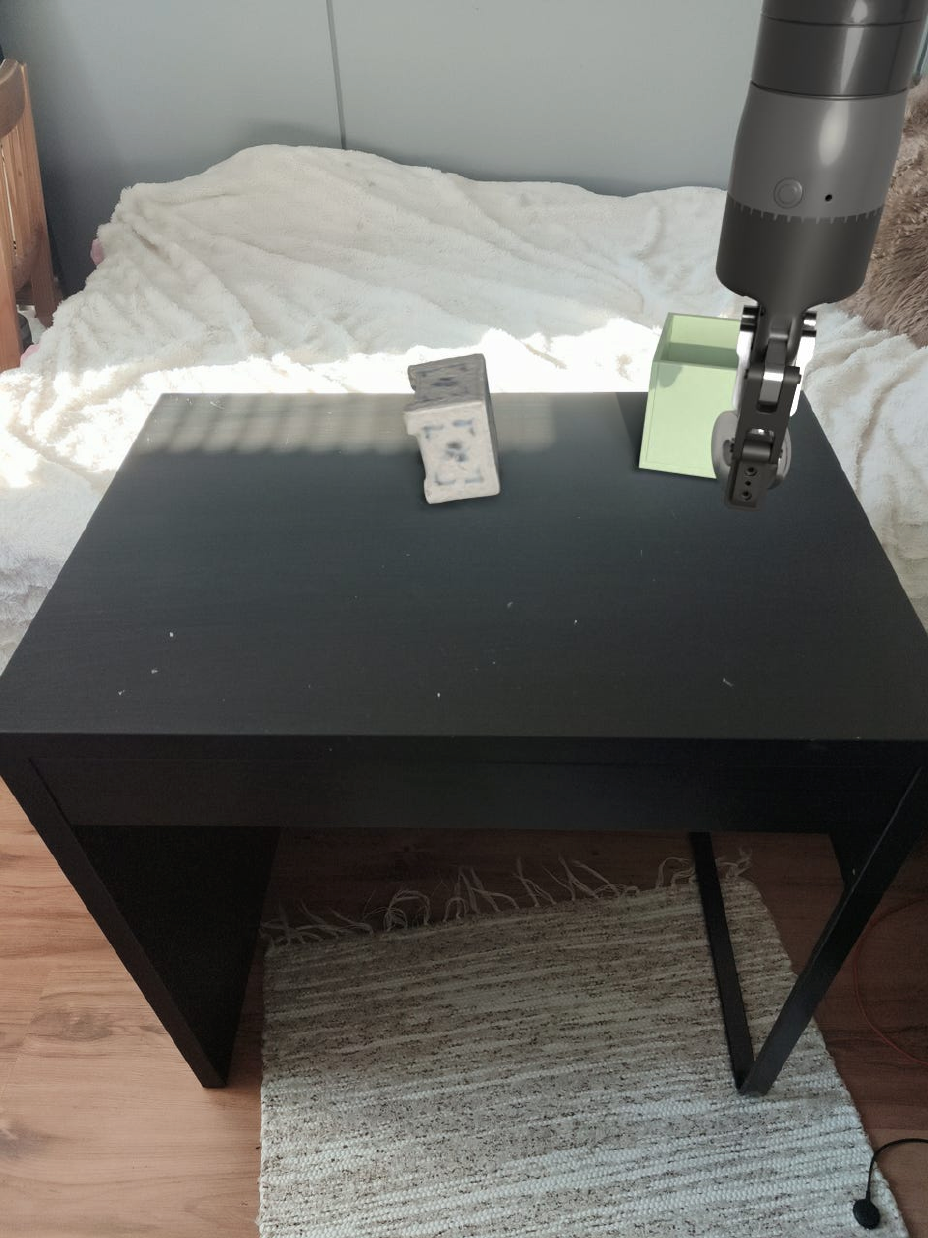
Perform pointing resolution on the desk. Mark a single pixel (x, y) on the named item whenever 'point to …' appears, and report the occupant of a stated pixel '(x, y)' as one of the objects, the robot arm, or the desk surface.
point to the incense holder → (454, 428)
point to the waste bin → (688, 392)
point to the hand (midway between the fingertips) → (745, 478)
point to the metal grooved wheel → (722, 454)
